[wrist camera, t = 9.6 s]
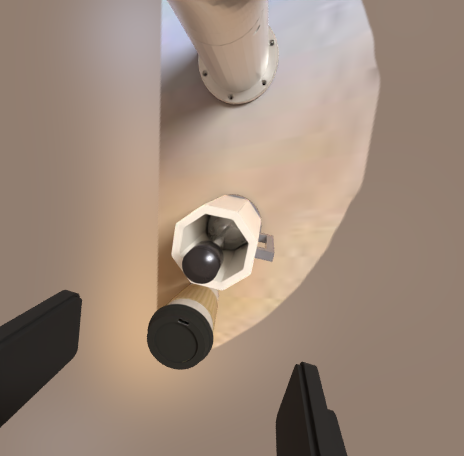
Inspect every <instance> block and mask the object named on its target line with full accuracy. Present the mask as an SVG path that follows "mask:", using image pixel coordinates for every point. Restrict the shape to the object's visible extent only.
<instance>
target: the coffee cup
mask: <svg viewBox="0 0 464 456" xmlns="http://www.w3.org/2000/svg"><path fill="white" fill-rule="evenodd" d="M218 297H219V293H218V289H214V288H210V287H206V286H202V285H198V284H194V283H191V284H190V285H189V286H187V287H186V288H185V289H183V290H182V291H181V292H180V293H179V294H178V295H177V296H175V297H174V298H173V299H172V300H171V301H170V302H169V303H168V304H166V306H164V307H162V308H160V309H159V310H157V311H156V312H155V313H154V315H153V316H152V318H151V320H150V322H149V326H148V334H147V342H148V347H149V349H150V352H151V353H152V355H153V356H154V357H155V358H156V359H157V360H158V361H159V362H160V363H162V364H163V365H165V366H167V367H170V368H173V369H188V368H191V367H193V366H195V365H196V364H198V363H199V362H200V361H202V360H203V359H204V358H205V357H206V356H207V355H208V353H209V352H210V350H211V348H212V344H213V330H214V325H215V319H216V313H217V307H218Z"/></svg>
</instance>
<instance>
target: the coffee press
mask: <svg viewBox="0 0 464 456" xmlns="http://www.w3.org/2000/svg"><path fill="white" fill-rule="evenodd" d="M211 215H214V216H218V217H223V218H228V219H232V220H234V222H235V223H236V225H237V226H238V228H239V229H240V231H241V232H242V234H243V235H244V237H245V238H246V240H247V241H246V242H245V243H244V244H243V245H242V246H240V247H238V248H236V249H223V248H221V247H220V248H221V249H222V251H223V255H224V261H223V264H222V266H221V268H220V269H219V271H218V273H217V275H216V277H215V278H214V279H213V280H212V281H211V282H209V283H206V284H198V283H194V282H192V281H191V280H189V279H188V278H187V279H188V280H189V281H190V282H191V283H194V284H198V285H202V286H206V287H210V288H214V289H218V290H225V289H226V288H228V287H230V286H231V285H233V284H235V283H237V282H238V281H240V280H242V279H244V278H245V277H247V276H249V275H250V274H251V271H252V266H253V262H254V258H258V259H262V260H267V261H271V262H272V261H273V257H274V241H273V236H272V235H268V234H263V233H260V232H261V224H262V222H261V216H260V213H259V211H258V209H257V207H256V206H255V205H254V204H253V203H252V202H251V201H250V200H249V199H247V198H245V197H243V196H240V195H234V194H230V195H224V196H221V197H219V198H217V199H215V200H213V201H210V202H208V203H206V204H204V205H202V206H200V207H199V208H197V209H196V210H195V211H193V212H192V213H190V214H189V215H187V216H186V217H184V218H183V219H182V220H180V221H179V222H177V223H176V226H175V233H174V240H173V247H172V254H171V255H172V257H173V259H174V260H175V262H176V263H177V264H178V266H179V267H180V269H181V270H182V271H183V269H182V261H183V258H184V256H185V255H186V254H187V253H188V252H189V251H190V250H191V249H192V248H193V247H194V246H195V245H196V244H197V243H199V242H201V241H212V240H211V239H210V237H209V234H208V230H207V225H208V221H209V218H210V216H211ZM212 242H213V241H212ZM258 242H263V243H265V248H261V247H257V244H258ZM183 273H184V272H183Z"/></svg>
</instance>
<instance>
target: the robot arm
mask: <svg viewBox="0 0 464 456" xmlns="http://www.w3.org/2000/svg"><path fill="white" fill-rule="evenodd" d="M167 1H168V3H169V4H170V6H171V8H172V9H173V11H174V13H175V14H176V16H177V18H178V19H179V21H180V23H181V25H182V26H183V28H184V30H185V32H186V33H187V35H188V37H189V39H190V40H191V42H192V44H193V45H194V47H195V49H196V51H197V52H198V65H199V72H200V75H201V78H202V80H203V82H204V84H205V86H206V87H207V89H208V90H209V91H210V92H211V93H212V95H214V96H215V97H216V98H218V99H219V100H221V101H223V102H225V103H230V104H243V103H247V102H250V101H252V100H254V99H256V98H257V97H259V96H260V95H262V94H263V93H264V92H265V91H266V90H267V88H268V87H269V85H270V84H271V83H272V81H273V78H274V76H275V74H276V70H277V67H278V59H279V50H278V43H277V40H276V37H275V34H274V33H273V31H272V29H271V27H270V26H269V25H268V0H167ZM271 44H273V46H270V45H271ZM206 74H207V76H205V75H206ZM263 83H265V84H266V85H265V86H263V85H262V84H263ZM231 97H233V99H232V100H230V98H231ZM81 305H82V299H81V298H80V296H79V294H77V293H74V292H71V291H68V290H63V291H61V292H59V293H57V294H56V295H54V296H52V297H50V298H49V299H47V300H45V301H43V302H42V303H40V304H38V305H37V306H35V307H33V308H31V309H30V310H28V311H26V312H25V313H23V314H21V315H19V316H18V317H16V318H14V319H12V320H11V321H9V322H7V323H5V324H4V325H2V326H0V427H1V426H2V425H3V424H4V423H6V422H7V421H8V420H9V419H10V418H11V417H12V416H13V415H14V414H15V413H16V412H17V411H18V410H19V409H20V408H21V407H22V406H23V405H24V404H25V403H27V401H29V400H30V399H31V398H32V397H33V396H34V395H35V394H36V393H37V392H38V391H39V390H40V389H41V388H42V387H43V386H44V385H45V384H46V383H47V382H48V381H50V380H51V379H52V378H53V377H54V376H55V375H56V374H57V373H58V372H59V371H60V370H61V369H62V368H63V367H64V366H65V365H66V364H67V363H68V362H69V361H71V359H73V357H74V356H75V354H76V352H77V349H78V340H79V329H80V317H81ZM276 446H277V447H276V448H277V456H347V453H346V450H345V446H344V442H343V439H342V435H341V431H340V428H339V425H338V421H337V417H336V415H335V413H334V411H332V410H329V409H327V405H326V401H325V397H324V393H323V389H322V385H321V381H320V377H319V373H318V369H317V367H316V366H315V365H311V364H308V363H305V362H301V363H300V365H298V364H296V365H295V367H294V370H293V372H292V375H291V378H290V381H289V383H288V386H287V389H286V392H285V395H284V397H283V400H282V403H281V406H280V408H279V411H278V414H277V419H276Z"/></svg>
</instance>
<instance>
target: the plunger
mask: <svg viewBox="0 0 464 456" xmlns="http://www.w3.org/2000/svg"><path fill="white" fill-rule="evenodd" d="M207 230H208V234H209V237H210V239H211V240H212V241H213V242H212V241H201V242H199V243H197V244H196V245H195V246H194V247H193V248H192V249H191V250H190V251H189V252H188V253H187V254H186V255H185V256H184V258H183V261H182V269H183V272H184V274H185V276H186V277H187V278H188V279H189V280H191V281H192V282H194V283H198V284H206V283H209V282H211V281H212V280H213V279H214V278H215V277H216V275H217V273H218V271H219V269H220V268H221V266H222V264H223V261H224V255H223V251H222V249H221V248H223V249H236V248H238V247H240V246H242V245H243V244H244V243H245V242H246V241H247V240H246V238H245V237H244V235H243V234H242V232H241V231H240V229H239V228H238V226H237V225H236V223H235V222H234V220H232V219H228V218H223V217H218V216H214V215H211V216H210V218H209V221H208V225H207ZM220 247H221V248H220Z"/></svg>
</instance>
